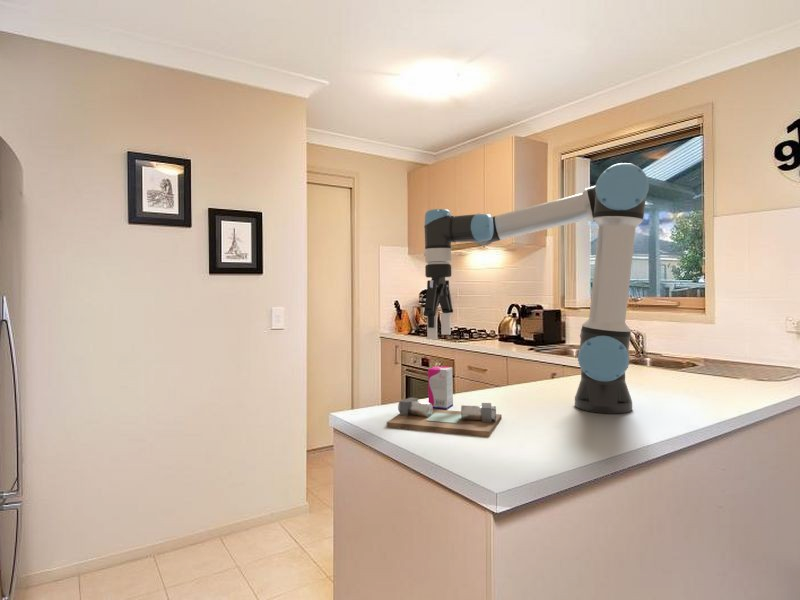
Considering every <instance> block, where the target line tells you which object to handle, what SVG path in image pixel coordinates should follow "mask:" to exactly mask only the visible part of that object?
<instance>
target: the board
mask: <svg viewBox="0 0 800 600" xmlns="http://www.w3.org/2000/svg"><path fill="white" fill-rule="evenodd" d="M502 418H503V417H502V414H501V413H496V421H492V423H482V420H461V410H449V409H447V410H444V409H433V412H432V415H431V416H430V417H424V416H418V415H411V416H408V417H406V416H400V413H398V414H397V415H396V416H394V417H393V418H391V419H389V420H388V421H387V422H386V428H392V429H393V428H394V429H403V430H415V431H425V432H433V433H434V432H436V433H446V434H455V435H458V434H459V435H468V436H475V437H476V436H478V437H487V438H488V437H489V438H490V437H491V435H492V434H493V432H494V431H495V429H496V428H497V426H498V425H499V424H500V422H501V420H502Z"/></svg>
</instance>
